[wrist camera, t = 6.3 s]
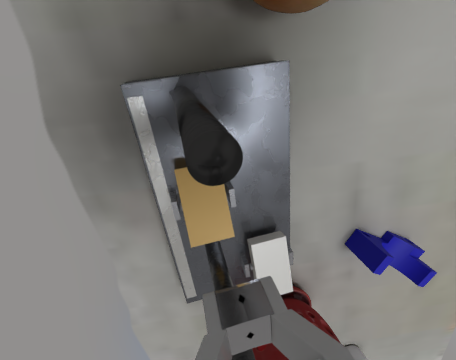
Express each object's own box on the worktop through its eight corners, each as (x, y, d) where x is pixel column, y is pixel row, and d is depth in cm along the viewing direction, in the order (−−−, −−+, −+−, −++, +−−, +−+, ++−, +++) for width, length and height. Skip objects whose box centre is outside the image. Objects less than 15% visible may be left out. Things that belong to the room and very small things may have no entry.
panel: (125, 82, 21) (6, 137, 5) (275, 60, 23) (509, 54, 7) (185, 284, 33) (203, 486, 17) (280, 258, 35) (374, 417, 19)
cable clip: (408, 239, 40) (444, 265, 35) (390, 259, 42) (423, 287, 36) (361, 220, 36) (395, 246, 31) (343, 243, 37) (373, 272, 32)
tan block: (173, 170, 23) (171, 170, 21) (218, 161, 23) (221, 160, 21) (188, 242, 23) (188, 248, 21) (233, 231, 24) (237, 236, 22)
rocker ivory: (244, 238, 28) (249, 245, 26) (280, 228, 28) (287, 235, 26) (253, 290, 29) (258, 301, 27) (287, 280, 30) (294, 290, 28)
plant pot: (292, 262, 36) (345, 344, 26) (315, 306, 42) (364, 386, 32) (217, 304, 36) (238, 402, 26) (251, 342, 43) (278, 433, 32)
